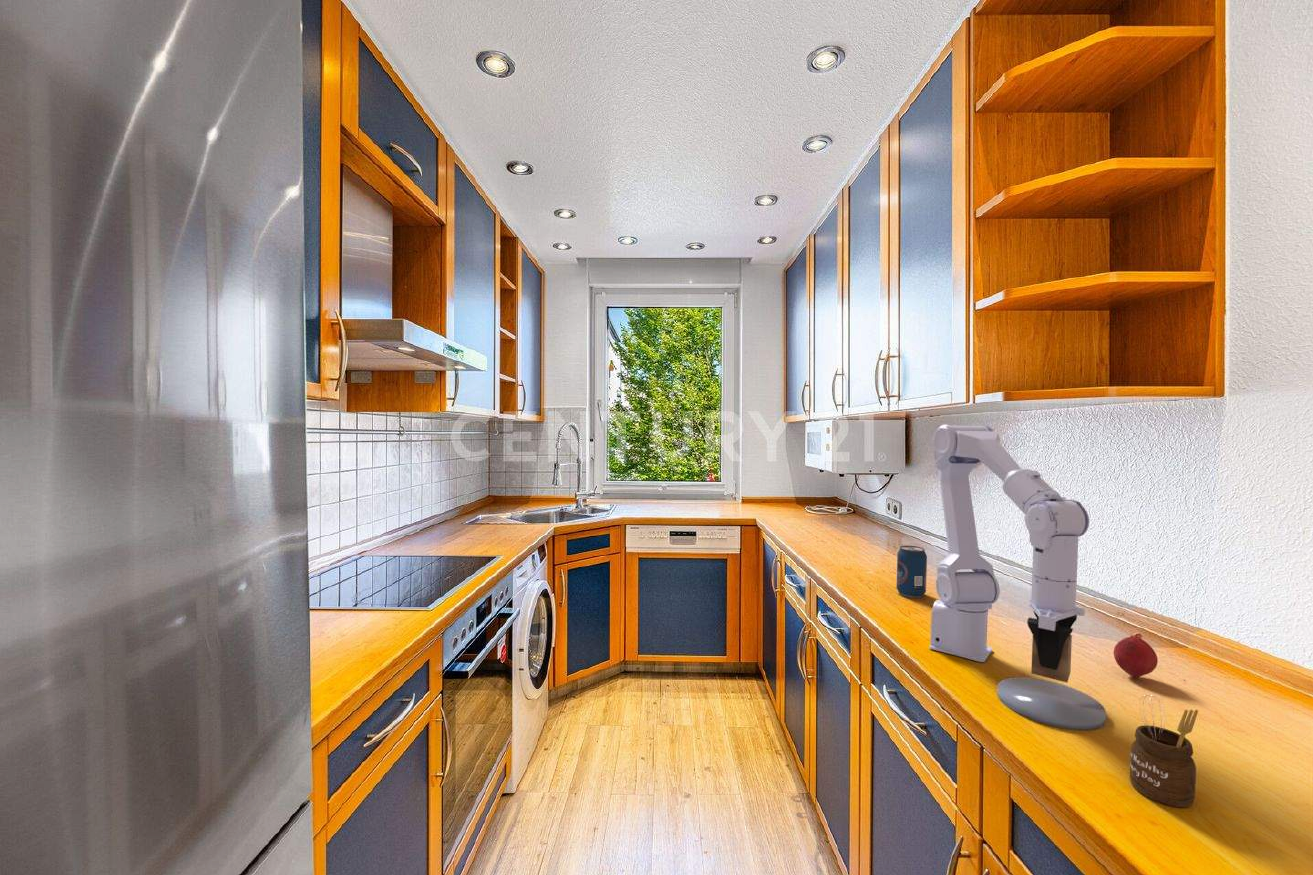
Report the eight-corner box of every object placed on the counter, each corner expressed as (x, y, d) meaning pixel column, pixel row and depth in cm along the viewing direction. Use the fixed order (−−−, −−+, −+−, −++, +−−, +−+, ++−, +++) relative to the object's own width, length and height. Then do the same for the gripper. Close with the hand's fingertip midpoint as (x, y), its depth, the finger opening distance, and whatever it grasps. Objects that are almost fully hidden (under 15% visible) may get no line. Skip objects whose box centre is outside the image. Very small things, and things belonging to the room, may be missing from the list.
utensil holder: (1161, 776, 71) (1165, 683, 71) (1211, 811, 65) (1217, 709, 64) (1116, 776, 71) (1120, 684, 71) (1162, 811, 65) (1167, 710, 64)
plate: (989, 706, 88) (989, 699, 88) (1006, 676, 98) (1006, 669, 98) (1103, 741, 79) (1103, 733, 79) (1108, 703, 89) (1108, 696, 89)
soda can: (891, 590, 147) (892, 544, 147) (916, 589, 148) (918, 544, 147) (904, 598, 140) (906, 551, 140) (931, 598, 141) (932, 551, 140)
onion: (1139, 687, 95) (1142, 640, 95) (1104, 671, 101) (1106, 628, 100) (1164, 682, 97) (1166, 637, 96) (1128, 668, 102) (1130, 625, 102)
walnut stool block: (1031, 673, 88) (1032, 635, 88) (1035, 663, 92) (1036, 627, 91) (1067, 682, 85) (1068, 643, 85) (1070, 672, 88) (1071, 635, 88)
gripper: (1082, 592, 80) (1078, 686, 80) (1089, 572, 91) (1086, 654, 91) (1023, 582, 84) (1020, 671, 85) (1037, 564, 95) (1034, 642, 96)
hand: (1050, 662), depth 88 cm, fingers closed on walnut stool block, 5 cm apart
